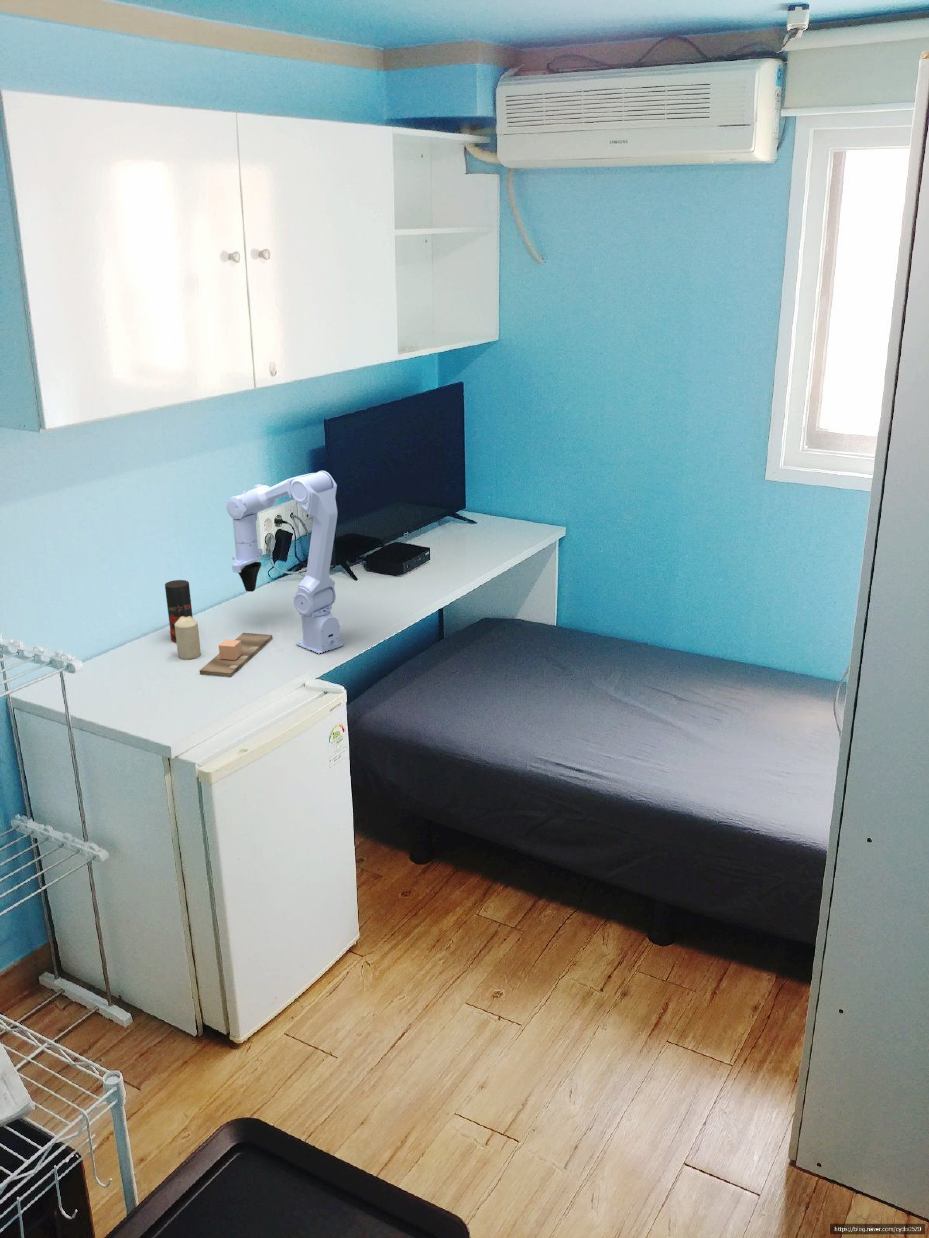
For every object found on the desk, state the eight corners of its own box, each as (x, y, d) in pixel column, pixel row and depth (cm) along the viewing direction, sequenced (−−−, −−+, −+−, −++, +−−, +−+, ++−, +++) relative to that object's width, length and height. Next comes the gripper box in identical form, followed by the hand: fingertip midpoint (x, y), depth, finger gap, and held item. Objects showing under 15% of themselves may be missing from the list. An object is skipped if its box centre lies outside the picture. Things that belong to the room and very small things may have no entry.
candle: (173, 656, 266) (169, 619, 262) (190, 649, 270) (186, 612, 266) (189, 661, 263) (184, 623, 259) (205, 654, 267) (201, 616, 263)
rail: (243, 636, 278) (243, 632, 278) (272, 638, 276) (272, 634, 276) (199, 674, 255) (199, 670, 255) (231, 677, 253) (230, 672, 253)
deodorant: (167, 638, 277) (160, 583, 272) (188, 632, 281) (182, 578, 275) (177, 644, 273) (171, 589, 268) (198, 639, 276) (193, 584, 271)
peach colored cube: (227, 652, 264) (225, 639, 263) (242, 653, 263) (240, 640, 262) (219, 658, 261) (218, 645, 259) (235, 660, 260) (233, 646, 259)
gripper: (243, 531, 283) (247, 580, 287) (219, 547, 269) (224, 598, 274) (268, 533, 281) (272, 582, 286) (245, 549, 268) (249, 600, 273)
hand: (250, 590), depth 280 cm, fingers closed
